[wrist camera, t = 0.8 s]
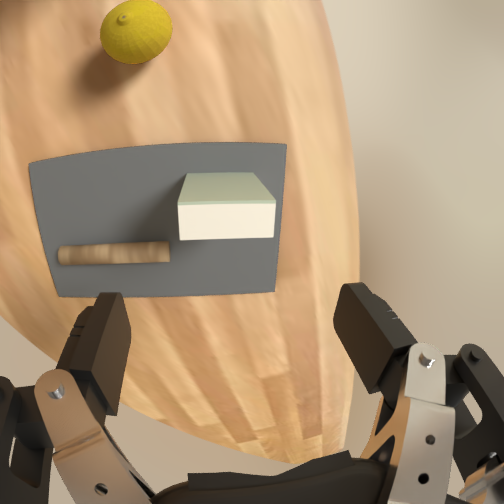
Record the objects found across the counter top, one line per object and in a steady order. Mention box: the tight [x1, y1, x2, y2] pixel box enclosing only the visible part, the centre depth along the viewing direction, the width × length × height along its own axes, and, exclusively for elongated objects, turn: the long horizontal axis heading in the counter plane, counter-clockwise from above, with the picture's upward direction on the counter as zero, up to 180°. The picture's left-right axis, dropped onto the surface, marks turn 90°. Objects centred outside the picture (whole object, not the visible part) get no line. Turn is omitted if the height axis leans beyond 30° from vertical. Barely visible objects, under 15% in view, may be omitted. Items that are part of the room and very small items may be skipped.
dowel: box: [58, 241, 170, 265], centre depth 25 cm, size 2×12×2 cm, turn 88°
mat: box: [29, 142, 287, 297], centre depth 26 cm, size 16×26×1 cm, turn 88°
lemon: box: [100, 0, 172, 64], centre depth 15 cm, size 6×6×8 cm
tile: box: [178, 172, 276, 240], centre depth 21 cm, size 2×6×9 cm, turn 88°
